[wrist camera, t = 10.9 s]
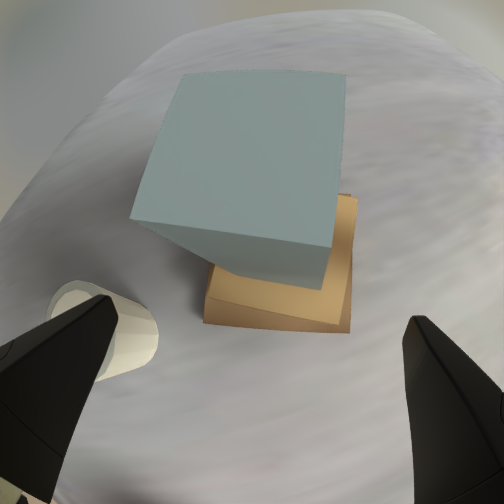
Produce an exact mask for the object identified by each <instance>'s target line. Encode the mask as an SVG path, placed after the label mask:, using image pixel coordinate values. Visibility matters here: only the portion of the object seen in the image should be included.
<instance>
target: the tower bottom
mask: <svg viewBox="0 0 504 504" xmlns="http://www.w3.org/2000/svg"><path fill="white" fill-rule="evenodd" d="M338 195H343V196H348V197H351V194H338ZM214 268H215V264H213V263H211V262H209V271H208V279H207V288H206V297H205V306H204V316H203V323H205V324H214V325H223V326H233V327H244V328H255V329H268V330H282V331H299V332H319V333H350V320H351V297H352V253H351V260H350V266H349V272H348V278H347V284H346V290H345V295H344V301H343V306H342V311H341V316H340V321H339V325H330V324H324V323H319V322H314V321H309V320H304V319H299V318H294V317H289V316H284V315H279V314H275V313H270V312H265V311H261V310H256V309H252V308H248V307H243V306H239V305H235V304H230V303H226V302H222V301H218V300H215V299H212V298H210V297H207V296H208V292H209V288H210V284H211V280H212V276H213V272H214Z"/></svg>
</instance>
